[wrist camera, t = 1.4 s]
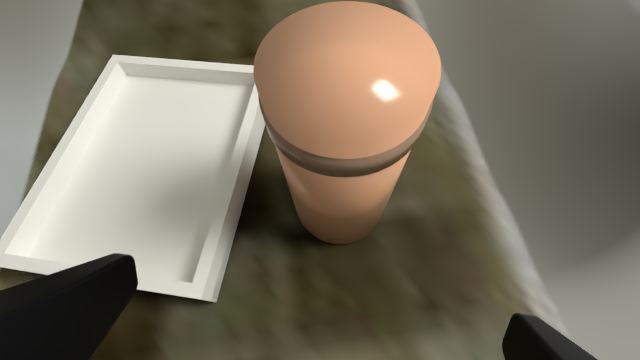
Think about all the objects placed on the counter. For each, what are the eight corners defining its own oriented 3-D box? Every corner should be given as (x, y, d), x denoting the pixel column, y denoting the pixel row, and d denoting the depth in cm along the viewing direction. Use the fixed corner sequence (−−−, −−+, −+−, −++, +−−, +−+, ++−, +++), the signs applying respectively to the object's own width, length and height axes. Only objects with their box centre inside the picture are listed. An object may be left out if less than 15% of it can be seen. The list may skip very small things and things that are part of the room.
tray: (216, 302, 19) (201, 299, 17) (22, 271, 21) (-16, 264, 18) (274, 88, 27) (269, 67, 25) (130, 76, 28) (113, 54, 26)
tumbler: (382, 251, 20) (447, 152, 9) (286, 238, 21) (227, 130, 9) (387, 166, 23) (441, 4, 11) (302, 157, 24) (272, -5, 12)
